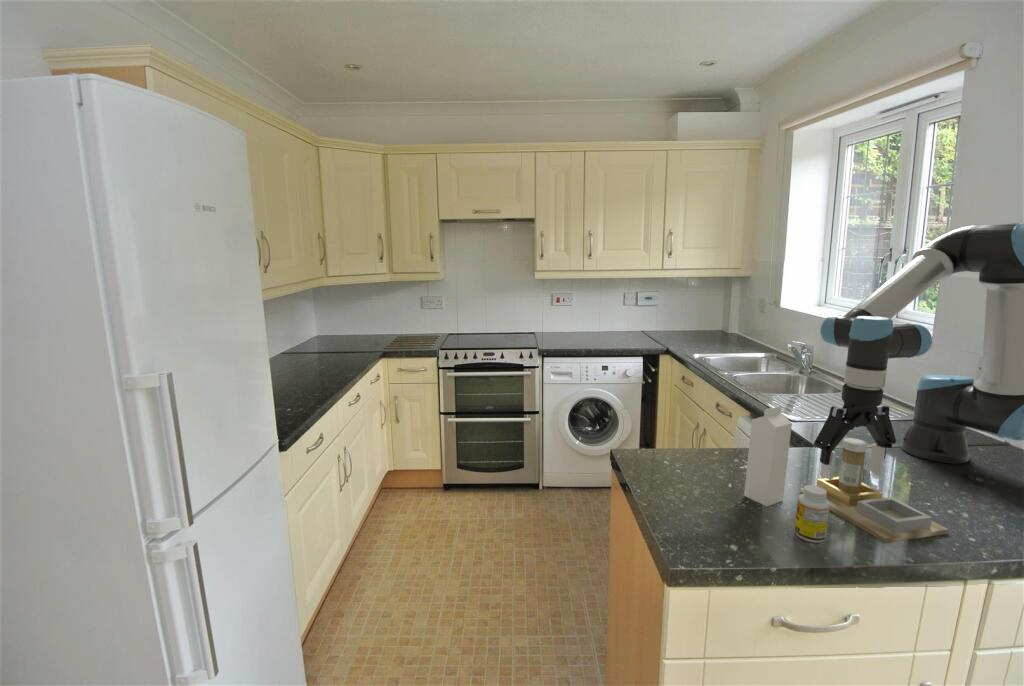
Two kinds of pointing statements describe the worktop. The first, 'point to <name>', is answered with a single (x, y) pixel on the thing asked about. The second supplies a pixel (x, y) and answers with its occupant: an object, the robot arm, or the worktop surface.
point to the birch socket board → (877, 529)
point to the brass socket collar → (845, 497)
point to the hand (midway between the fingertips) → (850, 474)
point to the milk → (768, 457)
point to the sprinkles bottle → (852, 465)
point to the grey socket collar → (909, 523)
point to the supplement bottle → (812, 514)
